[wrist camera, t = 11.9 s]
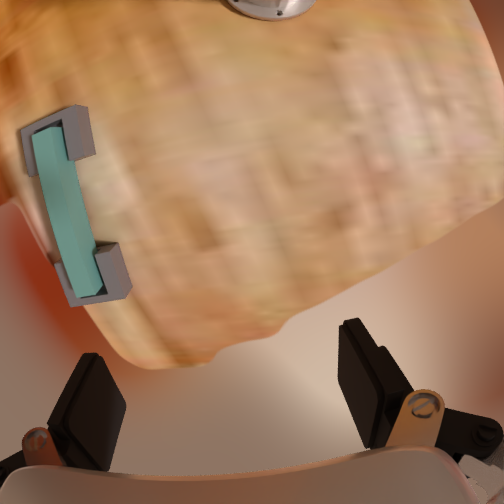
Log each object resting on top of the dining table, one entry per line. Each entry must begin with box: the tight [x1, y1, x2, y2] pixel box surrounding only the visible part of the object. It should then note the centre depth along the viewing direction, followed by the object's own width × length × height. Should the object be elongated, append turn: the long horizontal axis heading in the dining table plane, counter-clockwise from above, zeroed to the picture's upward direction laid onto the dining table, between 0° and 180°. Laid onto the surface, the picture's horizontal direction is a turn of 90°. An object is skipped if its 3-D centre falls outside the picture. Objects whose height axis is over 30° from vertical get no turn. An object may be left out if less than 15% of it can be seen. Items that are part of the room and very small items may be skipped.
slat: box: [32, 127, 104, 298], centre depth 34 cm, size 21×3×4 cm, turn 10°
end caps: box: [20, 105, 132, 307], centre depth 35 cm, size 25×9×4 cm, turn 10°
